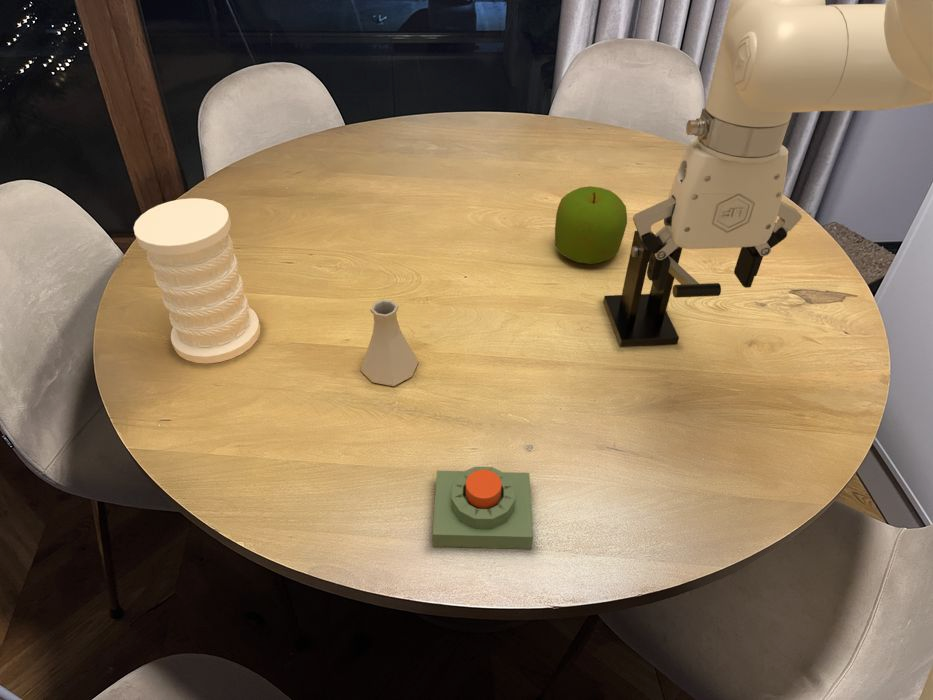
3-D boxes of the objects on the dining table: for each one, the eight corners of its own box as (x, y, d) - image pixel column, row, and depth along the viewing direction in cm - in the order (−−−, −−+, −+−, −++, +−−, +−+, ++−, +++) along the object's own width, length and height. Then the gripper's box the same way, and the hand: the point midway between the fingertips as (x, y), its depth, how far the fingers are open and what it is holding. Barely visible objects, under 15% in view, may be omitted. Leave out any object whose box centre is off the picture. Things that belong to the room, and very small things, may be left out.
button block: (527, 485, 74) (530, 461, 72) (531, 549, 68) (534, 526, 66) (437, 482, 75) (436, 459, 72) (432, 546, 69) (431, 524, 66)
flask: (428, 361, 89) (426, 301, 83) (395, 394, 85) (390, 333, 78) (384, 342, 92) (378, 282, 85) (350, 373, 87) (341, 312, 81)
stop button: (500, 480, 70) (501, 469, 69) (501, 509, 68) (501, 498, 67) (466, 479, 70) (466, 468, 69) (465, 508, 68) (465, 497, 67)
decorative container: (220, 374, 87) (182, 257, 75) (154, 347, 91) (108, 231, 79) (277, 323, 95) (251, 210, 83) (214, 300, 99) (180, 188, 87)
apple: (618, 276, 104) (631, 214, 97) (548, 267, 106) (555, 206, 98) (621, 238, 112) (632, 178, 105) (556, 230, 114) (563, 171, 107)
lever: (719, 301, 75) (722, 281, 74) (675, 303, 75) (678, 283, 74) (669, 255, 90) (671, 238, 89) (632, 257, 89) (634, 239, 88)
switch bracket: (677, 344, 92) (701, 260, 83) (619, 346, 92) (638, 262, 83) (656, 299, 100) (676, 217, 91) (603, 301, 99) (618, 219, 90)
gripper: (663, 150, 60) (630, 305, 71) (850, 146, 61) (790, 299, 72) (640, 117, 65) (613, 266, 77) (812, 114, 67) (761, 260, 78)
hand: (699, 282), depth 74 cm, fingers open, 9 cm apart
